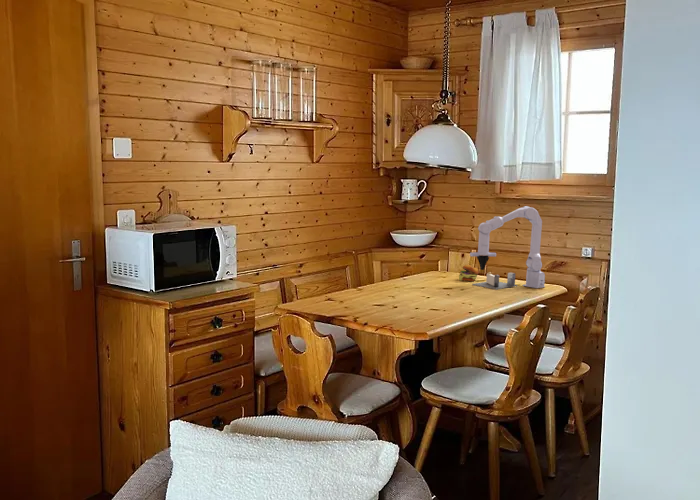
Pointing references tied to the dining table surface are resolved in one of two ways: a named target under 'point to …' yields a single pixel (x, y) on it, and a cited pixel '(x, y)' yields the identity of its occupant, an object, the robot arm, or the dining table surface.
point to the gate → (490, 278)
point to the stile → (511, 279)
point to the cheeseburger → (468, 276)
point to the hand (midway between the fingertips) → (482, 269)
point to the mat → (501, 286)
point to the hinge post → (496, 281)
